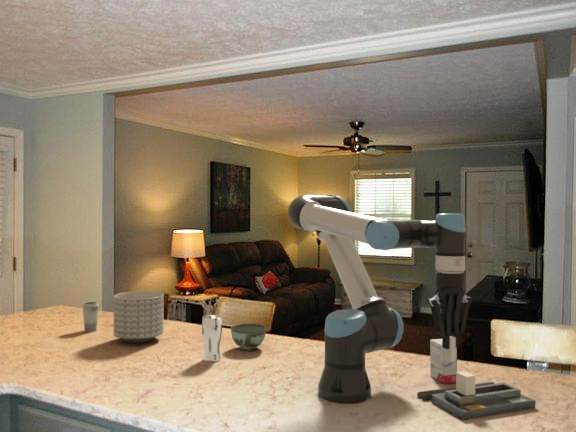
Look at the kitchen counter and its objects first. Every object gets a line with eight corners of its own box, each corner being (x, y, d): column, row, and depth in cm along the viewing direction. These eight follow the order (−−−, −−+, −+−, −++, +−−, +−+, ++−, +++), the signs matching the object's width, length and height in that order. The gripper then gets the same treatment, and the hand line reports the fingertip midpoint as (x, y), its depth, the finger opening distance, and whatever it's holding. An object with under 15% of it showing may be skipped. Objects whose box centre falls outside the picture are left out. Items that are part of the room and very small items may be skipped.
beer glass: (197, 360, 178) (198, 317, 178) (208, 355, 185) (208, 313, 184) (215, 363, 176) (215, 319, 175) (225, 357, 182) (225, 315, 182)
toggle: (464, 402, 136) (465, 377, 136) (455, 397, 140) (455, 372, 140) (475, 400, 137) (476, 375, 137) (465, 395, 141) (466, 371, 141)
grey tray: (462, 420, 131) (463, 404, 130) (431, 401, 143) (431, 387, 143) (535, 407, 139) (535, 393, 139) (499, 391, 151) (500, 378, 151)
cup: (78, 332, 217) (78, 303, 217) (87, 328, 223) (87, 300, 223) (94, 332, 216) (94, 304, 215) (102, 329, 222) (102, 301, 222)
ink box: (458, 383, 158) (458, 345, 158) (443, 384, 157) (443, 346, 156) (443, 374, 166) (443, 338, 166) (429, 375, 165) (429, 338, 165)
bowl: (273, 347, 196) (273, 326, 196) (252, 355, 185) (252, 333, 185) (244, 342, 204) (245, 321, 203) (223, 349, 192) (223, 328, 192)
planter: (156, 347, 195) (156, 299, 194) (106, 346, 195) (106, 298, 195) (168, 334, 214) (168, 291, 213) (122, 334, 214) (123, 290, 214)
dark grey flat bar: (423, 400, 143) (423, 395, 143) (415, 396, 147) (415, 391, 147) (501, 389, 153) (501, 384, 153) (492, 385, 156) (492, 380, 156)
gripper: (438, 274, 130) (438, 367, 130) (480, 272, 135) (479, 362, 135) (421, 271, 137) (420, 359, 137) (460, 269, 142) (460, 354, 142)
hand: (449, 360), depth 136 cm, fingers closed
